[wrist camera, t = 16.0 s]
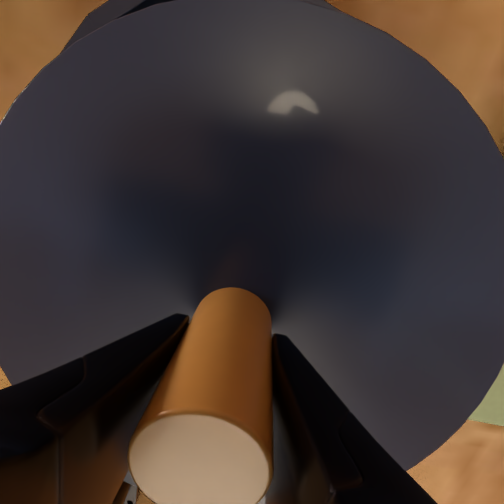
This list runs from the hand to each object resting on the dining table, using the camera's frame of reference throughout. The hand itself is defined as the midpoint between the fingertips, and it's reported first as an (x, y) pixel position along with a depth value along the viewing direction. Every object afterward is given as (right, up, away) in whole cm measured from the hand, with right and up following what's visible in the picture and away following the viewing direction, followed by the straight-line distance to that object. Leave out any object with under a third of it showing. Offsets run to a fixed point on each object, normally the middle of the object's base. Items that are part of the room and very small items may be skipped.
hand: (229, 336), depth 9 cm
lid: (0, 0, +1) cm, 1 cm away
